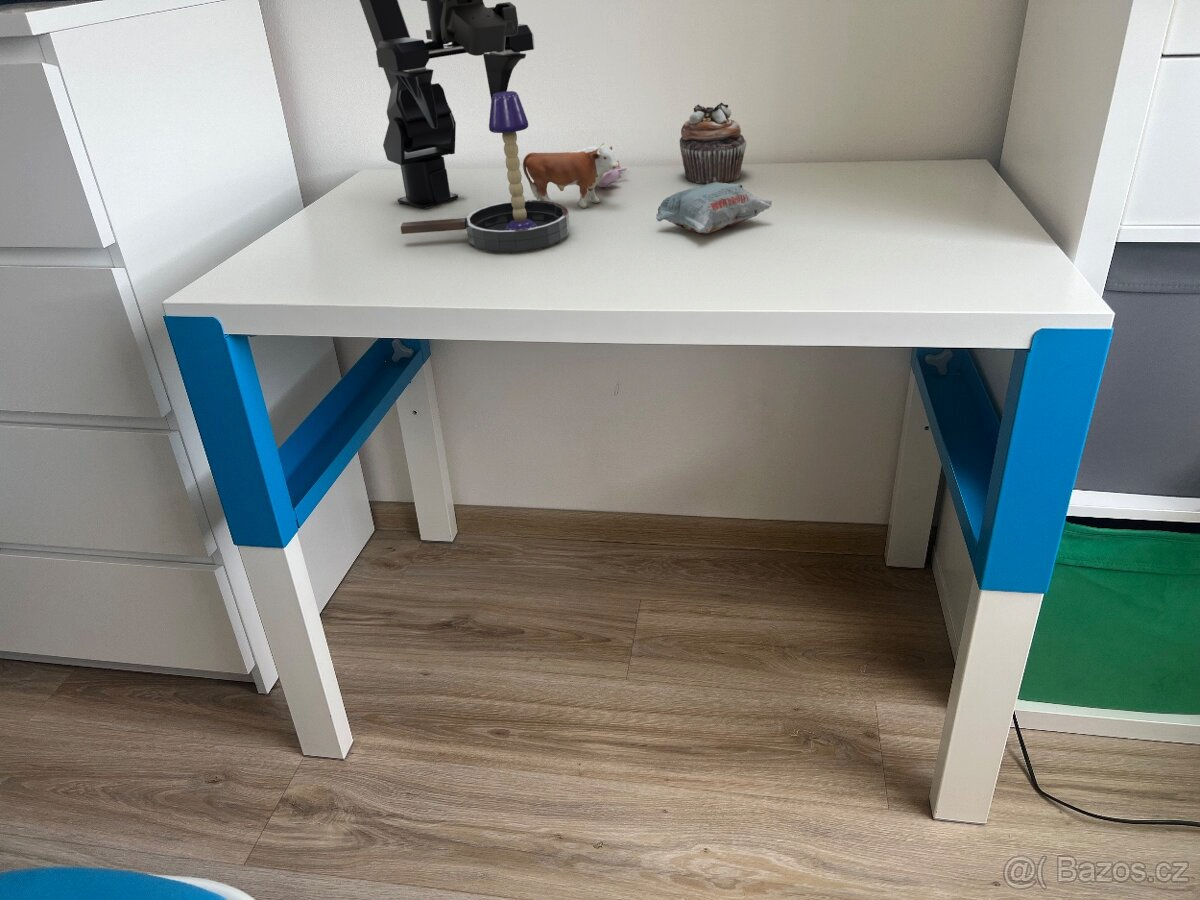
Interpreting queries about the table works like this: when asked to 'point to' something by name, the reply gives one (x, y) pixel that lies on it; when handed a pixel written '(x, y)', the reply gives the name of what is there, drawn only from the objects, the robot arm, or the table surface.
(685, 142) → the cupcake
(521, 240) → the pan
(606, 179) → the rabbit figure
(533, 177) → the bull figurine
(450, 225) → the pan handle
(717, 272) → the table surface
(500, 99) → the toy lamp
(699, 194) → the packaged food
